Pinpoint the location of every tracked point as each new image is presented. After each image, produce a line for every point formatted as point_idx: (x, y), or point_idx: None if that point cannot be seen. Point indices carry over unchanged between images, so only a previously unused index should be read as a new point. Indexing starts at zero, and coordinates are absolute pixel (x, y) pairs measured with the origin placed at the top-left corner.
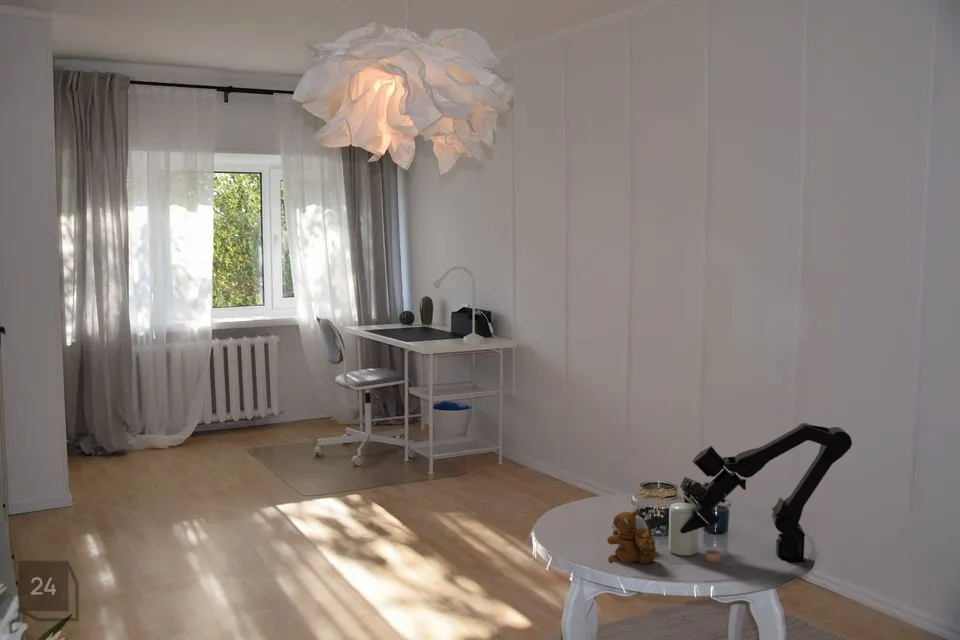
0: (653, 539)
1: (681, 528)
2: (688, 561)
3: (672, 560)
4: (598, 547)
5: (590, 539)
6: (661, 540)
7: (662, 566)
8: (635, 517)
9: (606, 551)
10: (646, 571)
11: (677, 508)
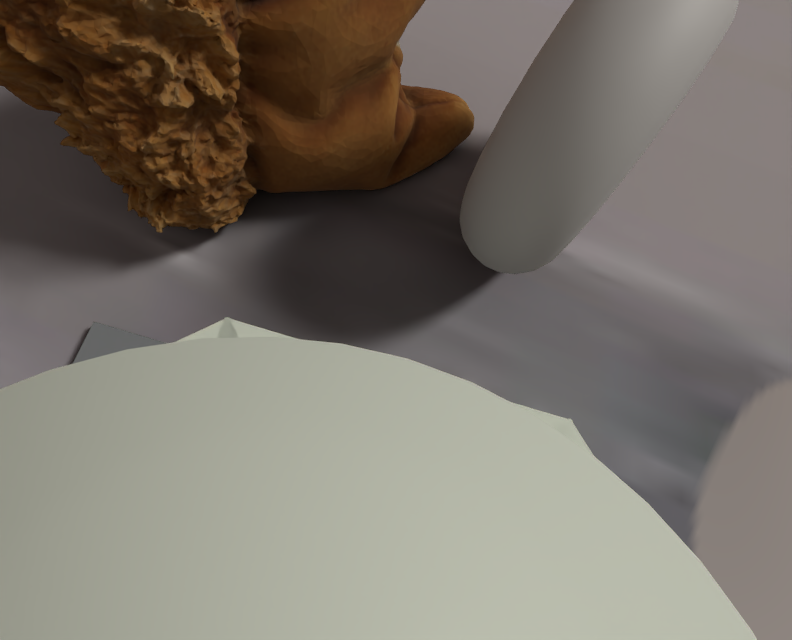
0: (19, 52)
1: None
2: None
3: None
4: None
5: None
6: (672, 517)
7: (97, 267)
8: (593, 4)
9: (477, 54)
10: (51, 126)
11: (20, 522)
